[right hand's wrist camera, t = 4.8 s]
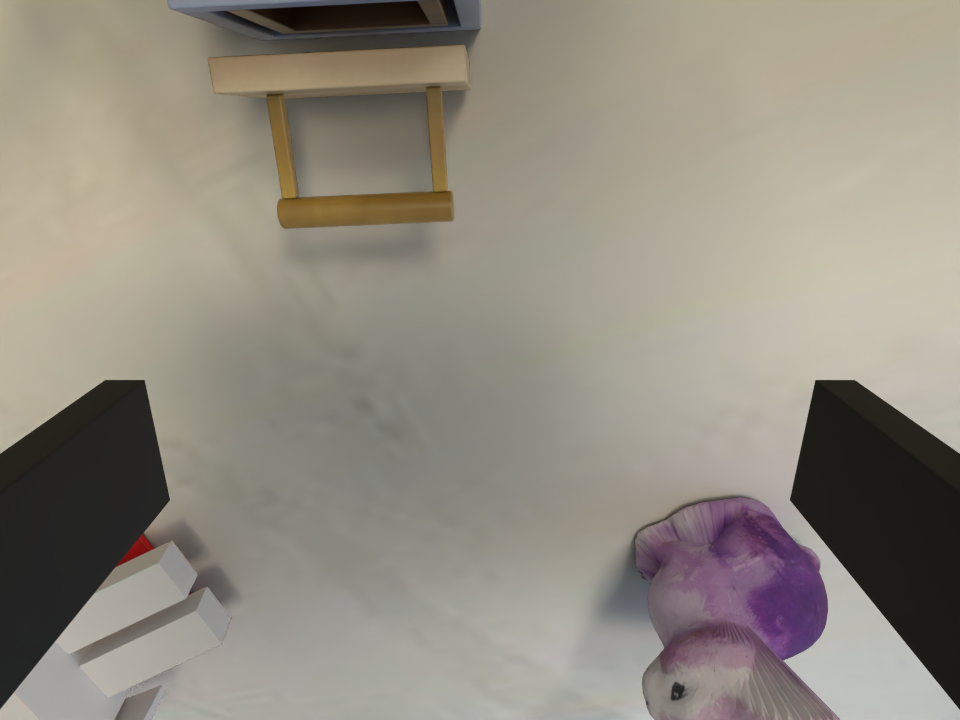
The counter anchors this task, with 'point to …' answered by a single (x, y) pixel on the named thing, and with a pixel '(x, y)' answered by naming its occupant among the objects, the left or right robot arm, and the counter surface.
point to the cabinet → (214, 3)
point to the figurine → (730, 614)
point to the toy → (123, 642)
